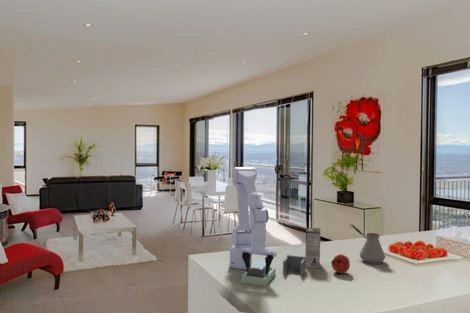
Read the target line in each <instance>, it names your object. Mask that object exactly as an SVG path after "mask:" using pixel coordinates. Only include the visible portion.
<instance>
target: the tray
mask: <svg viewBox="0 0 470 313" xmlns="http://www.w3.org/2000/svg"><path fill="white" fill-rule="evenodd" d="M276 270H277V269H276V267H274V266H270V268H269V273H268V274H267V276H266V277H265V278H261V277H253V276H248V272H247V271H245V272H244V273H243V274H242V275H241V284H244V285H251V286H260V287H267V285H268V284H269V283H271V281H272V279H274V277H275V276H276V275H277V274H276V272H277V271H276Z"/></svg>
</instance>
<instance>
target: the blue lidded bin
mask: <svg viewBox="0 0 470 313" xmlns="http://www.w3.org/2000/svg"><path fill="white" fill-rule="evenodd" d="M252 264H253V265H252V266H251V267H250V268H248V276H253V277H261V278H265V277H266V276H267V275H266V274H265V271H266V262H265V261H261V260H256V261H255V262H254V263H252Z"/></svg>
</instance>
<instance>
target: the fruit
mask: <svg viewBox="0 0 470 313" xmlns="http://www.w3.org/2000/svg"><path fill="white" fill-rule="evenodd" d="M350 266H351V264H350V258H349V257H348V256H347V255H345V254H337V255H335V256H334V257H333V259H332V261H331V267H332V269H333V270H334V271H335V273H339V274H345V273H347V272H348V271H349V270H350Z"/></svg>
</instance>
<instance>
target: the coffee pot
mask: <svg viewBox="0 0 470 313" xmlns="http://www.w3.org/2000/svg"><path fill="white" fill-rule="evenodd" d="M348 227H349V228H350V229H351V228H353V229H354V230H355V231H356V232H357V233H358V234H360V235H361V236H362V237H363V238H365V239H366V240H365V242H364V245H363V246H362V248H361V250H360V252H359V256H360V259H361V260H362V261H363V262H364V263H366V264H371V265H380V264H381V263H382V262H383V261H384V260H385V259H386V255H385V252H384V249H383V248H382V245H381V242H380V240H379V238H380V237H381V234H380V233H374V232H371V233H369V232H367V233H365V234H363V231H361V230H360V229H359V228H357V227H356V226H355V225H353V224H350V225H349V226H348Z"/></svg>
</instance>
